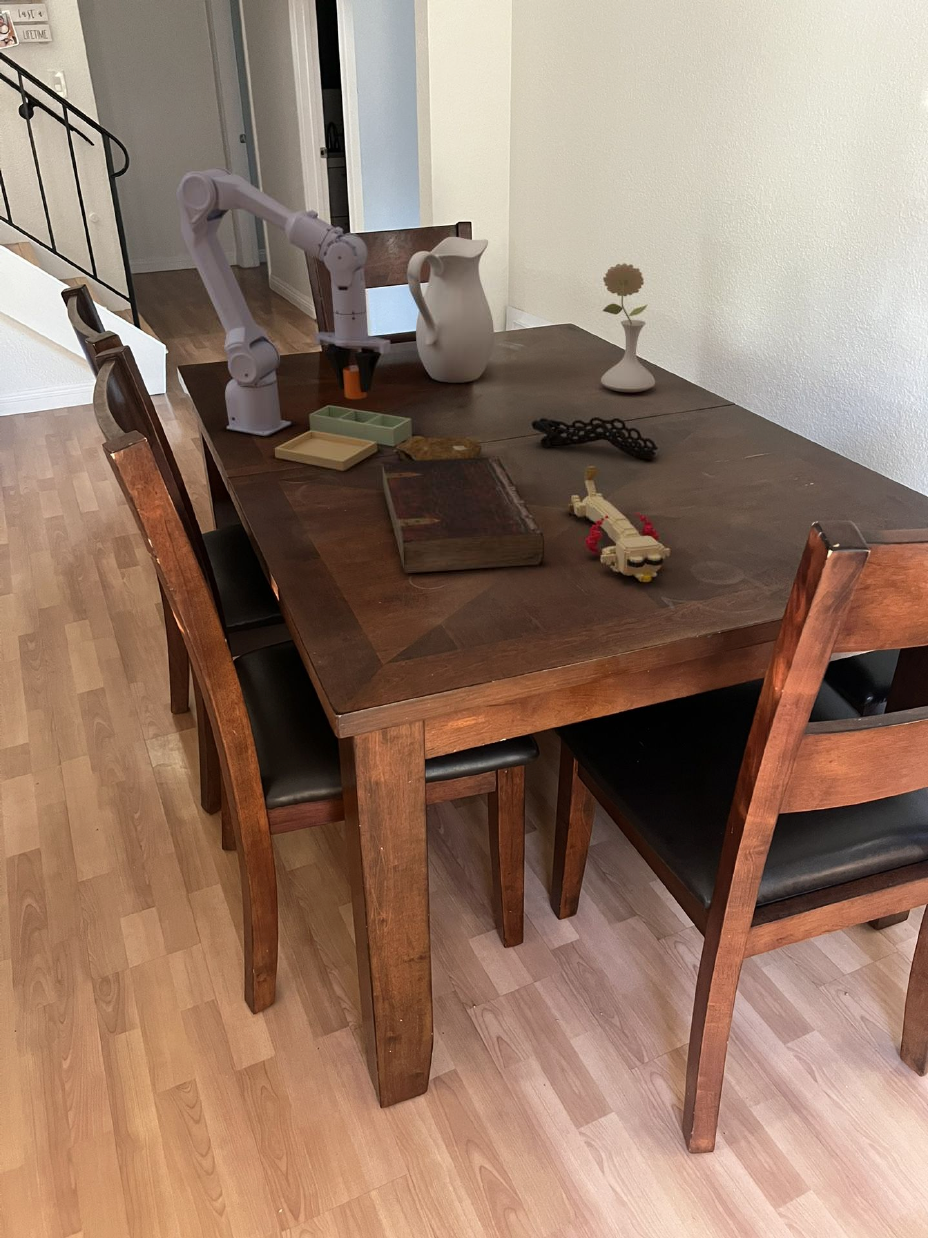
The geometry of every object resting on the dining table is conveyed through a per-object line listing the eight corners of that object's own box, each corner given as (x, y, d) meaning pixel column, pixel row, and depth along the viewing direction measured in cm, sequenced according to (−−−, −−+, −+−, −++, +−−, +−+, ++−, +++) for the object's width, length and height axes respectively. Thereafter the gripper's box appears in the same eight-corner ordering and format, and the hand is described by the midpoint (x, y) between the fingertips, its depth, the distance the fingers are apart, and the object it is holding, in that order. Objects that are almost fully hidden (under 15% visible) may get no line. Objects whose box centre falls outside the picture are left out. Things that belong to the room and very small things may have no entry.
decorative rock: (392, 477, 149) (482, 479, 149) (391, 454, 147) (483, 456, 147) (395, 449, 158) (480, 451, 159) (395, 427, 156) (481, 429, 157)
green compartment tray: (310, 431, 168) (308, 414, 166) (329, 421, 173) (328, 404, 171) (394, 446, 161) (393, 428, 159) (411, 435, 165) (411, 418, 164)
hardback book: (543, 564, 121) (544, 530, 118) (404, 575, 118) (403, 541, 116) (499, 483, 145) (499, 454, 143) (383, 491, 143) (382, 461, 140)
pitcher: (447, 362, 210) (446, 233, 195) (508, 373, 201) (510, 240, 187) (381, 386, 193) (374, 247, 179) (444, 399, 184) (442, 255, 170)
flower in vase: (662, 386, 192) (676, 262, 179) (641, 400, 184) (654, 271, 171) (606, 377, 198) (616, 257, 185) (584, 390, 190) (592, 265, 177)
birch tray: (275, 457, 156) (274, 448, 155) (311, 438, 164) (310, 429, 163) (343, 470, 150) (343, 461, 150) (377, 450, 159) (376, 441, 158)
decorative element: (658, 455, 156) (661, 422, 153) (650, 464, 152) (654, 430, 149) (537, 438, 164) (538, 406, 161) (527, 446, 160) (528, 414, 157)
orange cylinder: (340, 397, 161) (338, 369, 159) (352, 391, 164) (350, 364, 162) (359, 400, 160) (357, 372, 157) (371, 394, 163) (369, 366, 160)
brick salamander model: (553, 522, 135) (611, 587, 113) (554, 465, 132) (615, 522, 110) (615, 516, 137) (684, 579, 115) (619, 460, 133) (691, 515, 111)
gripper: (301, 311, 154) (309, 389, 161) (373, 319, 149) (377, 400, 156) (325, 303, 160) (331, 379, 167) (395, 311, 154) (398, 389, 161)
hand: (355, 389), depth 162 cm, fingers closed on orange cylinder, 4 cm apart
